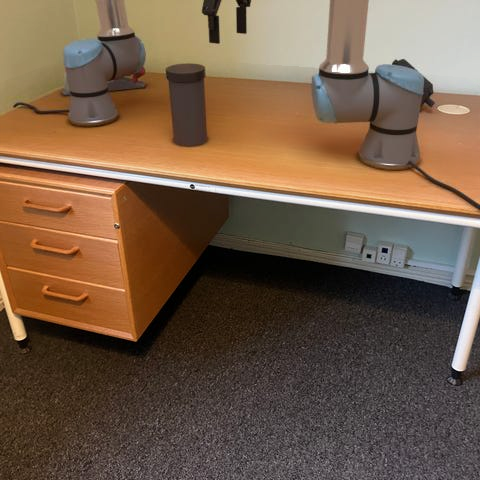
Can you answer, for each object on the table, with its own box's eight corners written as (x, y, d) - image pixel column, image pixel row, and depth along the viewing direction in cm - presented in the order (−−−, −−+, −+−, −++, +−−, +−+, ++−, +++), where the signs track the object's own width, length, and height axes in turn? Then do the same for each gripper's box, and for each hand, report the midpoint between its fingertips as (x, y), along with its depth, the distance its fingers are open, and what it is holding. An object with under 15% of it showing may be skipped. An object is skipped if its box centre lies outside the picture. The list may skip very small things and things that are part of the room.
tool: (374, 89, 181) (400, 53, 170) (416, 126, 177) (445, 91, 166) (365, 93, 177) (391, 56, 166) (408, 131, 173) (438, 96, 162)
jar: (213, 137, 154) (210, 67, 144) (194, 148, 147) (189, 76, 137) (186, 132, 159) (181, 63, 148) (166, 142, 152) (160, 72, 141)
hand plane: (62, 90, 197) (53, 48, 189) (145, 82, 205) (140, 41, 197) (62, 96, 191) (54, 53, 184) (148, 87, 199) (143, 45, 191)
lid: (213, 74, 145) (212, 66, 144) (190, 84, 137) (190, 75, 136) (181, 70, 150) (181, 61, 148) (158, 79, 142) (157, 70, 141)
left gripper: (211, -51, 118) (214, 49, 129) (264, -58, 136) (263, 30, 147) (183, -52, 121) (189, 46, 132) (239, -58, 139) (240, 28, 150)
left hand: (228, 38), depth 140 cm, fingers open, 13 cm apart
